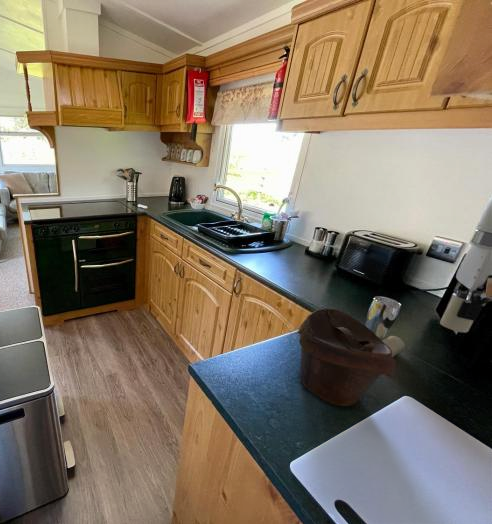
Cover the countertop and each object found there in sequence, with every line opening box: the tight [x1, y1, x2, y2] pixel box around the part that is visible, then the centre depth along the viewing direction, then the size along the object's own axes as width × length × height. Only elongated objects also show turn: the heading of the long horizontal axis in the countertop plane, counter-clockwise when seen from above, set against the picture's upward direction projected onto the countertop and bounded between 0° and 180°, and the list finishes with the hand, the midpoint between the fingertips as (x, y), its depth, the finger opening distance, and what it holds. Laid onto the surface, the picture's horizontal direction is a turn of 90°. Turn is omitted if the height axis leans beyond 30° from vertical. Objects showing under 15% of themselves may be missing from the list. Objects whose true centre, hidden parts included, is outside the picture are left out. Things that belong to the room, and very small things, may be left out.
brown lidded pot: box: [297, 307, 396, 407], centre depth 69 cm, size 18×20×18 cm
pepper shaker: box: [439, 289, 481, 333], centre depth 69 cm, size 5×5×9 cm
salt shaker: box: [382, 335, 406, 358], centre depth 86 cm, size 5×5×9 cm
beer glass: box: [364, 295, 402, 340], centre depth 90 cm, size 7×7×15 cm
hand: (460, 312), depth 70 cm, fingers closed on pepper shaker, 5 cm apart
